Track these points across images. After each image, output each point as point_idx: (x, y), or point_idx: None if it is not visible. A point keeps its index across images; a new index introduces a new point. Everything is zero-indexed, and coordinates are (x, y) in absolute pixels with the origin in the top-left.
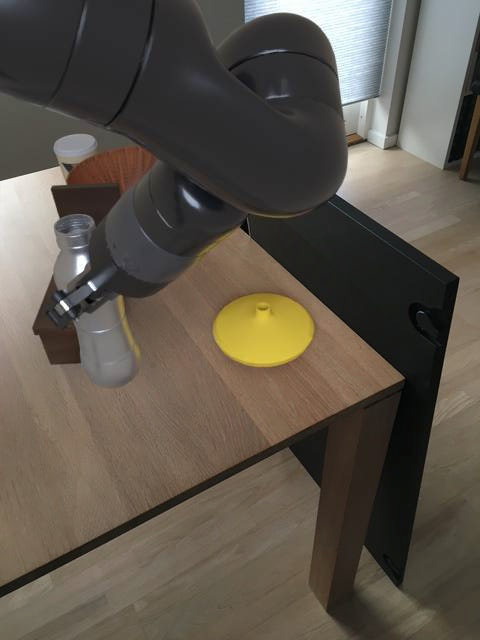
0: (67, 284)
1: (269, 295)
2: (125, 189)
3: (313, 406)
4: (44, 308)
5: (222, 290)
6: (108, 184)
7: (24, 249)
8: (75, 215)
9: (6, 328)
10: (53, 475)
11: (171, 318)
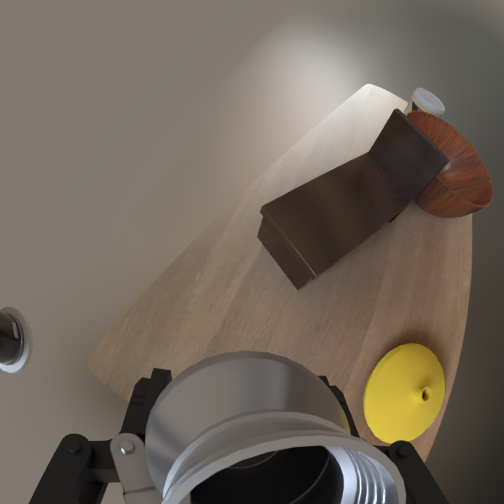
0: (124, 499)
1: (440, 370)
2: None
3: None
4: (49, 467)
5: (424, 312)
6: (441, 153)
7: (339, 125)
8: (381, 465)
9: (266, 171)
10: (159, 337)
11: (373, 297)
